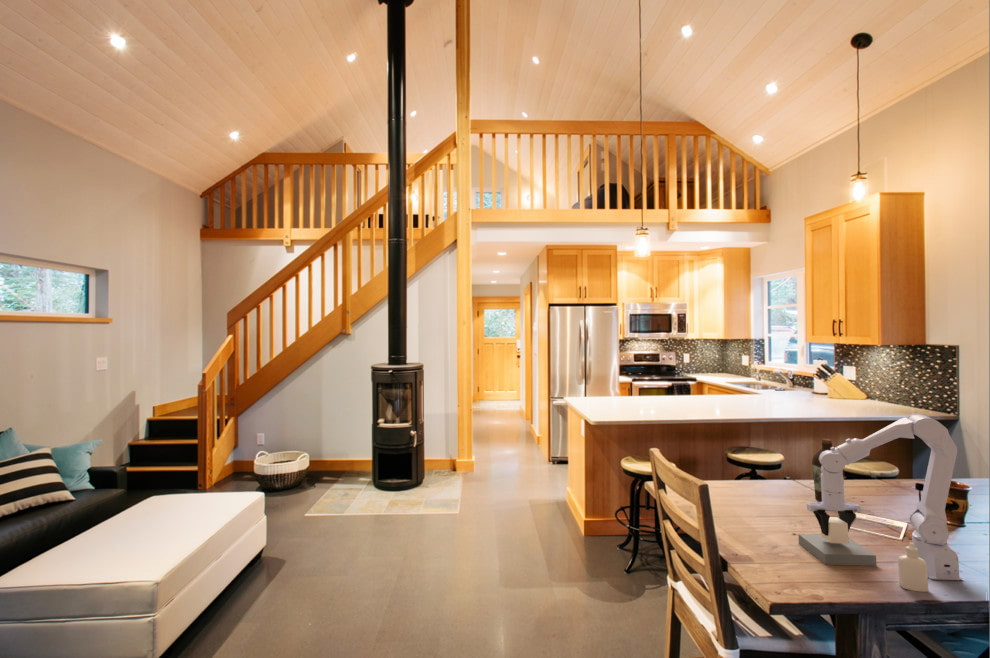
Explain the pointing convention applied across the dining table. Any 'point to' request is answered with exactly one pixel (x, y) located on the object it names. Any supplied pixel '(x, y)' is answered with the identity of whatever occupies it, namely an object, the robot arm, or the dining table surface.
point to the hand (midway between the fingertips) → (834, 534)
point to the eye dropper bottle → (913, 570)
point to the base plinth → (837, 551)
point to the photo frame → (881, 521)
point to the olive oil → (817, 468)
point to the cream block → (837, 531)
